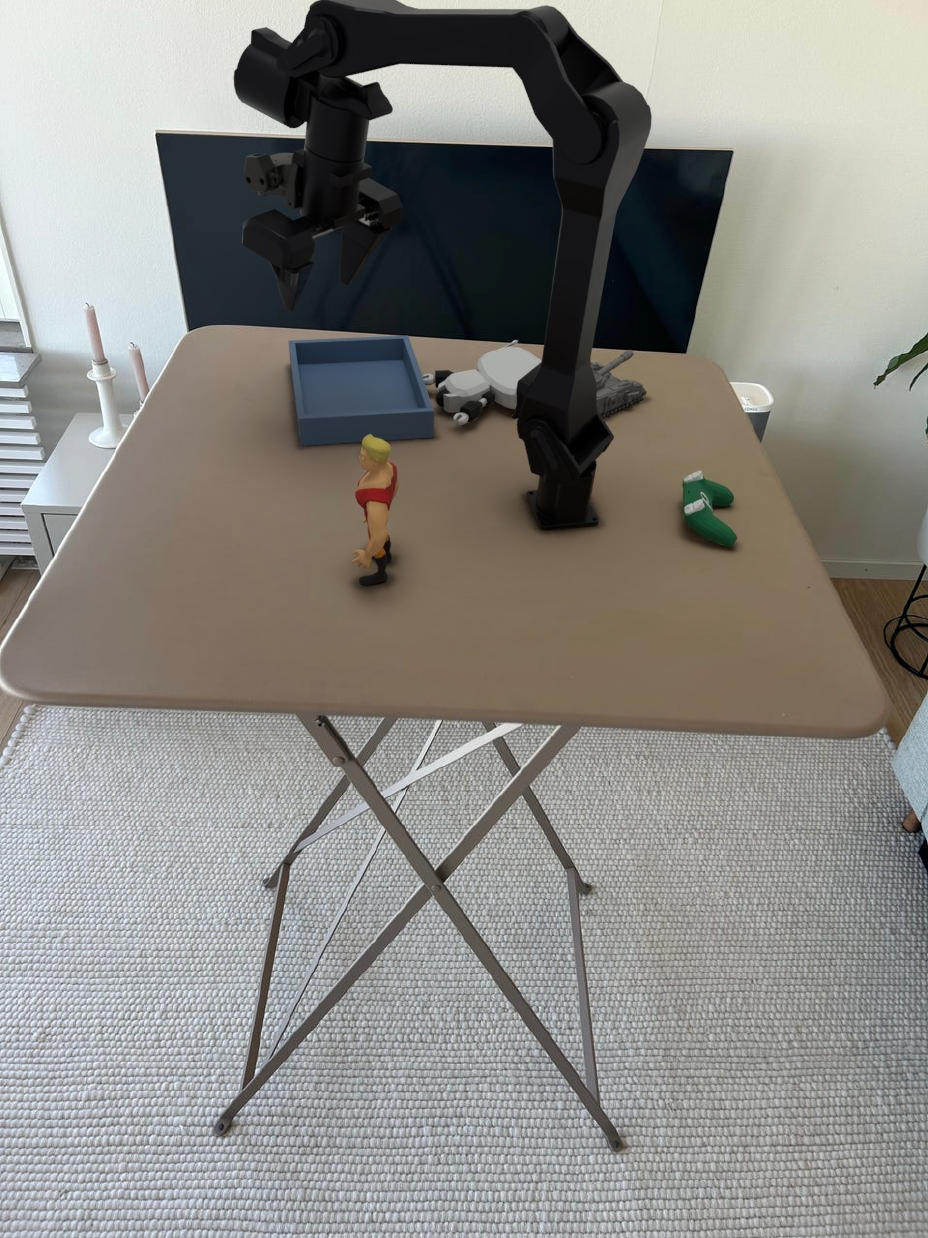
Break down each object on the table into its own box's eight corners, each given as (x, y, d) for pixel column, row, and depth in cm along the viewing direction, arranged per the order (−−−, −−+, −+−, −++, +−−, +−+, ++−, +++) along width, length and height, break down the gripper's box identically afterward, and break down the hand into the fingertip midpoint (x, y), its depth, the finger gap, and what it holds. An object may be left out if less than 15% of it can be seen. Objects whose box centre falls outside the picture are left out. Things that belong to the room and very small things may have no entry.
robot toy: (458, 446, 106) (566, 412, 110) (457, 414, 103) (568, 380, 107) (417, 394, 114) (519, 364, 118) (415, 363, 110) (520, 333, 114)
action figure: (366, 538, 90) (362, 406, 80) (401, 541, 90) (401, 410, 80) (349, 599, 83) (342, 463, 73) (387, 602, 83) (385, 467, 73)
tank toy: (599, 373, 119) (605, 336, 115) (653, 400, 114) (661, 363, 110) (536, 399, 113) (540, 361, 109) (590, 429, 108) (596, 391, 104)
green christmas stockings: (706, 511, 100) (676, 474, 97) (736, 494, 97) (706, 456, 95) (708, 561, 93) (676, 523, 90) (741, 545, 91) (708, 505, 88)
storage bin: (433, 437, 105) (434, 410, 102) (300, 446, 102) (298, 418, 99) (408, 360, 119) (408, 335, 116) (290, 366, 116) (288, 340, 113)
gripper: (332, 96, 92) (317, 238, 104) (200, 131, 80) (199, 287, 92) (417, 142, 90) (391, 283, 101) (293, 185, 78) (280, 338, 89)
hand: (317, 295), depth 96 cm, fingers open, 9 cm apart
